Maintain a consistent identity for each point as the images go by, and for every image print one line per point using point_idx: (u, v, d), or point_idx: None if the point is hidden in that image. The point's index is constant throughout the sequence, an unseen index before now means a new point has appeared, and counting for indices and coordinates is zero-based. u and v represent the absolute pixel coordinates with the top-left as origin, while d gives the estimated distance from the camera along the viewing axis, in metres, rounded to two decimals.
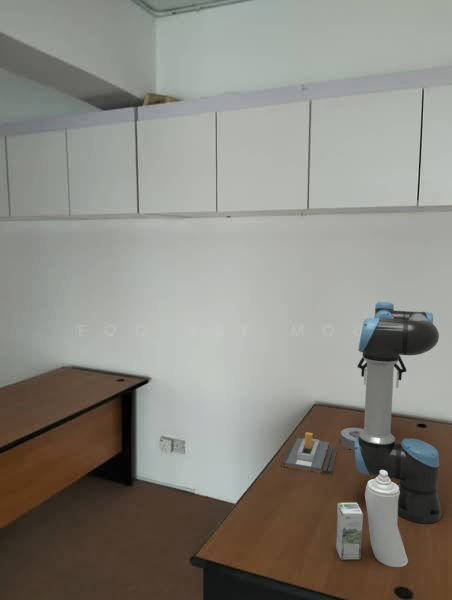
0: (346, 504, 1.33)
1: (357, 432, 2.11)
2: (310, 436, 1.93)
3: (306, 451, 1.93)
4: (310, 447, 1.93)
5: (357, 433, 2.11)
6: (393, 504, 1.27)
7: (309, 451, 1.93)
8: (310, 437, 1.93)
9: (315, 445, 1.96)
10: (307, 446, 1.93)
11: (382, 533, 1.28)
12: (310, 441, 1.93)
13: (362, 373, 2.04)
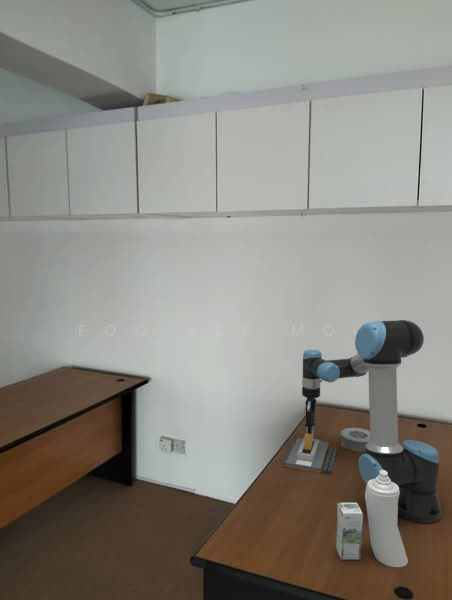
0: (346, 504, 1.33)
1: (357, 432, 2.11)
2: (310, 437, 1.92)
3: (306, 452, 1.92)
4: (310, 448, 1.92)
5: (357, 433, 2.11)
6: (393, 504, 1.27)
7: (309, 452, 1.92)
8: (310, 438, 1.92)
9: (315, 445, 1.96)
10: (307, 447, 1.92)
11: (382, 533, 1.28)
12: (310, 442, 1.92)
13: None
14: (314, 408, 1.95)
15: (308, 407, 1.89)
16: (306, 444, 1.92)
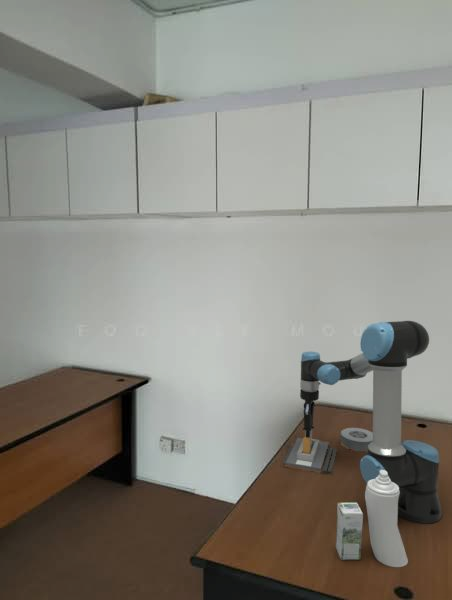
0: (346, 504, 1.33)
1: (357, 432, 2.11)
2: (308, 441, 1.88)
3: None
4: (308, 452, 1.88)
5: (357, 433, 2.11)
6: (393, 504, 1.27)
7: None
8: (308, 442, 1.88)
9: (315, 445, 1.96)
10: (305, 451, 1.89)
11: (382, 533, 1.28)
12: (308, 446, 1.88)
13: None
14: (312, 411, 1.91)
15: (306, 410, 1.85)
16: (304, 448, 1.89)
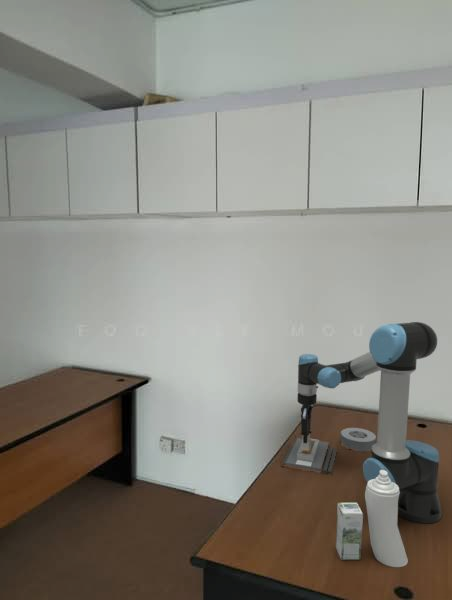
0: (346, 504, 1.33)
1: (357, 432, 2.11)
2: None
3: None
4: (308, 452, 1.89)
5: (357, 433, 2.11)
6: (393, 504, 1.27)
7: None
8: None
9: (315, 445, 1.96)
10: (305, 451, 1.89)
11: (382, 533, 1.28)
12: None
13: None
14: (310, 415, 1.86)
15: (304, 415, 1.79)
16: None
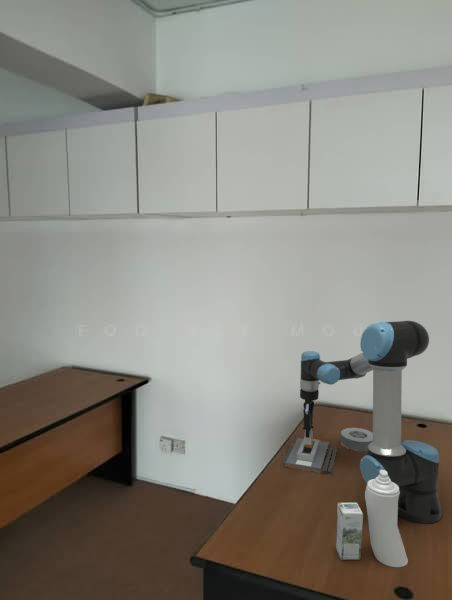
0: (346, 504, 1.33)
1: (357, 432, 2.11)
2: None
3: (306, 450, 1.94)
4: (310, 446, 1.94)
5: (357, 433, 2.11)
6: (393, 504, 1.27)
7: (309, 450, 1.94)
8: None
9: (315, 445, 1.96)
10: (307, 445, 1.94)
11: (382, 533, 1.28)
12: None
13: None
14: (312, 411, 1.91)
15: (306, 410, 1.85)
16: None
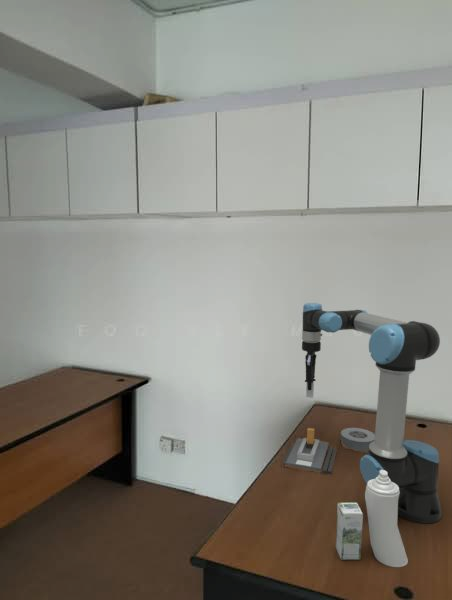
0: (346, 504, 1.33)
1: (357, 432, 2.11)
2: (312, 432, 1.97)
3: (308, 446, 1.98)
4: (312, 442, 1.98)
5: (357, 433, 2.11)
6: (393, 504, 1.27)
7: (311, 446, 1.98)
8: (312, 432, 1.97)
9: (315, 445, 1.96)
10: (309, 441, 1.98)
11: (382, 533, 1.28)
12: (312, 436, 1.98)
13: None
14: (314, 363, 1.90)
15: (308, 361, 1.84)
16: (308, 438, 1.98)
